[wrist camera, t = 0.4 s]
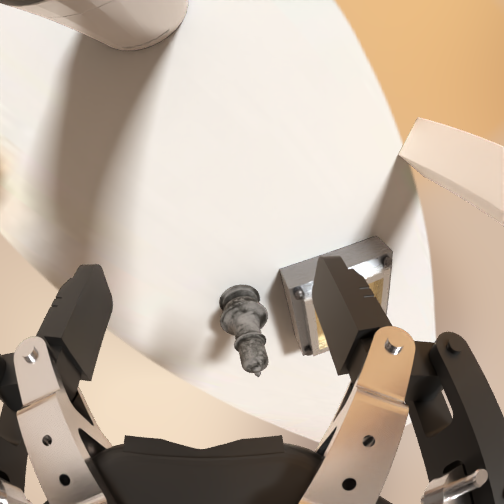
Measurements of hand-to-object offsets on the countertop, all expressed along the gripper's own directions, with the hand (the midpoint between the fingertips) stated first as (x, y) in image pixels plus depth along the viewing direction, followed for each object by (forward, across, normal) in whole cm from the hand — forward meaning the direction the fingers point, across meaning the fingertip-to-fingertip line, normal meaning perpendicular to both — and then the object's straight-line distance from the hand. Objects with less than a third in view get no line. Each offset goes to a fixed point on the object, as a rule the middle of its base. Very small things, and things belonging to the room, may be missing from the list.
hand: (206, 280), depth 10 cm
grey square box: (+20, -16, +20) cm, 32 cm away
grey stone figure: (+19, -2, +19) cm, 27 cm away
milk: (+22, -26, -2) cm, 34 cm away
